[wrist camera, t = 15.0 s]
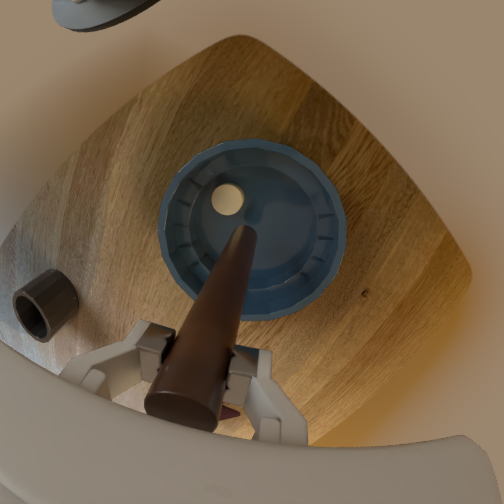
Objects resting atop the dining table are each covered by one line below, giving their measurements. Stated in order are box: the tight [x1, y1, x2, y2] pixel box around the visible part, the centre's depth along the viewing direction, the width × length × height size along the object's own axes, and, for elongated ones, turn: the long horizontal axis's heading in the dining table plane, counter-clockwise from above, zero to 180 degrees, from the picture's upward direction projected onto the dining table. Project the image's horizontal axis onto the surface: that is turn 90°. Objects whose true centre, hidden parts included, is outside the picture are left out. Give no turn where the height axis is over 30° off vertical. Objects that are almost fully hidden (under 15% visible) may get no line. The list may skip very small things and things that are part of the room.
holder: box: [13, 269, 79, 343], centre depth 34 cm, size 9×9×8 cm
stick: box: [144, 225, 258, 433], centre depth 17 cm, size 2×2×20 cm
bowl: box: [158, 138, 347, 321], centre depth 28 cm, size 18×18×6 cm
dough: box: [212, 183, 244, 215], centre depth 29 cm, size 3×3×2 cm
